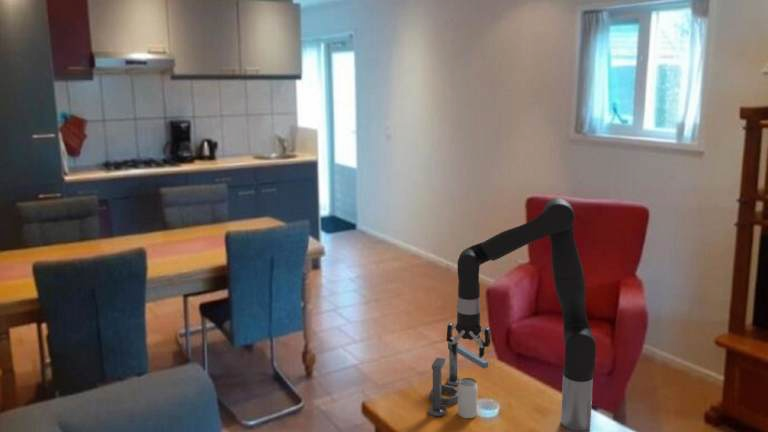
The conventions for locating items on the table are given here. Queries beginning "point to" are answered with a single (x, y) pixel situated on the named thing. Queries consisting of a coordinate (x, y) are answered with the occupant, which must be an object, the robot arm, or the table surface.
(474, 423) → the table surface
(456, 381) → the pivot post
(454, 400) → the collar
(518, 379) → the table surface
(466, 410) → the can
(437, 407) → the dark grey piece
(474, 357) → the swing arm
